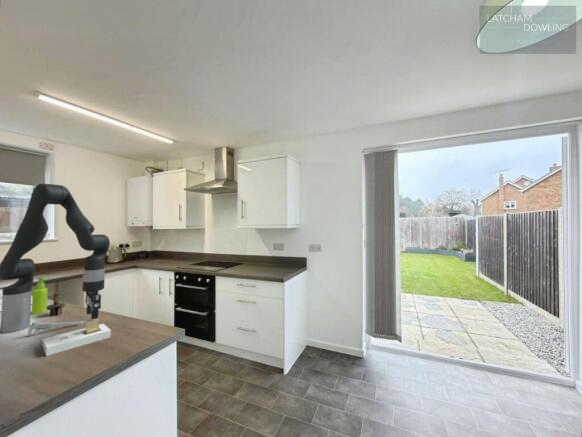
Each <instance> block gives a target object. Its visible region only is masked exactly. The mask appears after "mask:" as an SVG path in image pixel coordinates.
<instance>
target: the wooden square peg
mask: <svg viewBox="0 0 582 437" xmlns="http://www.w3.org/2000/svg"><path fill="white" fill-rule="evenodd" d="M84 321H85V323H84V328H85V335H87V334H90V333H94V332H98V331H99V324H100V318H99V317H98V318H96V319H92V318H86V319H84Z"/></svg>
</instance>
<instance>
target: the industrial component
mask: <svg viewBox="0 0 582 437" xmlns="http://www.w3.org/2000/svg"><path fill="white" fill-rule="evenodd" d="M65 307H66V303H64V302H60V292H54V293H53V303H52V304H48V305H47V311H49V316H50V317H53V316H60V315H62V314H63V313H62V310H63V308H65Z"/></svg>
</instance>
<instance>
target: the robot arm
mask: <svg viewBox="0 0 582 437" xmlns="http://www.w3.org/2000/svg"><path fill="white" fill-rule="evenodd" d="M48 205H60V206H61V207H62V208H63V209H64V210H65V213H66V214H65V222H66V224H67V226H68V228H69V229H70V230H72V232H73V233H74V234H75V237H76V239H77V242H78V244H79V246H80V247H81V248H82V249H83V250H85V251H87V252H91V251H93V252H92V254H91V255H89V256H86V257H85V258H84V263H83V264H84V266H83V274H82V289H81V290H82V292H83V293H85V301H84V302H85V306H86V315H91V318H92V319H96V318H99V310H100V309H101V307H102V306H101V303H102V302H101V300H102V294H100V293H99V292H100V291H102V290H104V289H105V280H106V278H105V276H106V273H105V272H106V271H105V262H106V260H105V259H106V257H107V254H108V251H109V248H110V246H111V242H110V238H109V237H108V235H106V234H102V233H101V234H93V233H94V231H95V226H94V225H93V224H92V222H90V221H89V219H88V218H87V217H86V216H85V215H84V213H83V212H82V211H81V209H80V207H79V206H78V203H77V202H76V200H75V199H74V196H73V195H72V193H71V191H70V190H69V189H68V188H67V187H66V186H64V185H61V184H51V183H38V184H36V186H35V187H34V189H33V191H32V192H31V195H30V199H29V203H28V205H27V209H26V212H25V214H24V217H23V219H22V221H21V223H20V225H19V226H18V229H17V231H16V234H15V236H14V238H13V241H12V243H11V245H10V247H9V248H8V251H7V252H6V254H5V256H4V257H3V259H2V260H1V261H0V279H1V280H3V281H8V280H17V281H16V282H14V283H12V284H10V285H8V286H5V287H4V288H3V289H2V295H1V314H0V333H3V334H6V333H14V332H18V331H21V330H25V329H29V327H30V325H31V313H32V291H33V289H32V287H33V285H34V277H35V269H36V265H35V261H34V260H33V259H32V258H23V257H24V256H25V255H26V254H27V253H29V252H31V251H32V250H33V249H35V248H37V246H39V245H41V243H43V241H44V239H45V238H46V236H47V233H48V230H49V225H48V223H47V221H46V218H45V216H44V211H45V208H46V207H47V206H48Z"/></svg>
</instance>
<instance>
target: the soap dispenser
mask: <svg viewBox="0 0 582 437" xmlns="http://www.w3.org/2000/svg"><path fill="white" fill-rule="evenodd" d="M48 279H50V278H49V277H47V276H42V277H37V278H36V280H38V282H37V283H36V285H35V289H32V296H31V315H39V314H45V313H47V311H48V310H47V306H48V288H47V287H45V286H46V282H44V280H48Z"/></svg>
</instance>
